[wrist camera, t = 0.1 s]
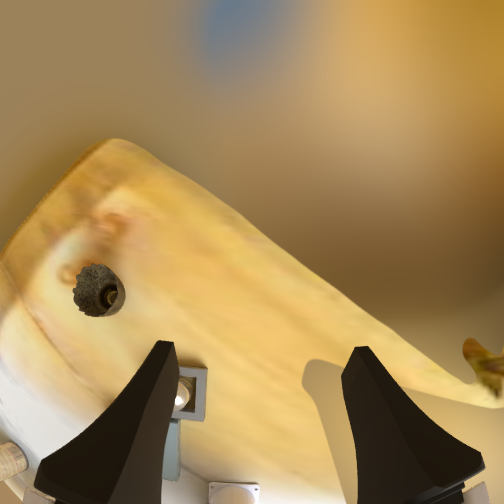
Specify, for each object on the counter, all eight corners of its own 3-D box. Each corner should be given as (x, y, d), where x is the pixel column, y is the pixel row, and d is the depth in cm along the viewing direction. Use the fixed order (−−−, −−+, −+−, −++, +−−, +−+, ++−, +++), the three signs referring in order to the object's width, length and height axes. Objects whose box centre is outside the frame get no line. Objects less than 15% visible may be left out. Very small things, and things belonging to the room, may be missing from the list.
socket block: (179, 473, 34) (176, 481, 31) (119, 460, 33) (112, 466, 30) (180, 418, 37) (176, 424, 34) (117, 406, 36) (110, 410, 33)
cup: (129, 327, 41) (108, 323, 33) (91, 314, 41) (66, 307, 33) (141, 282, 43) (123, 270, 35) (103, 271, 43) (81, 257, 35)
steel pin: (192, 404, 38) (186, 413, 32) (166, 400, 38) (156, 408, 32) (193, 379, 39) (187, 385, 33) (167, 376, 39) (157, 381, 33)
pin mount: (204, 417, 37) (203, 421, 35) (153, 410, 37) (149, 413, 34) (207, 368, 40) (206, 369, 37) (156, 361, 39) (151, 363, 37)
